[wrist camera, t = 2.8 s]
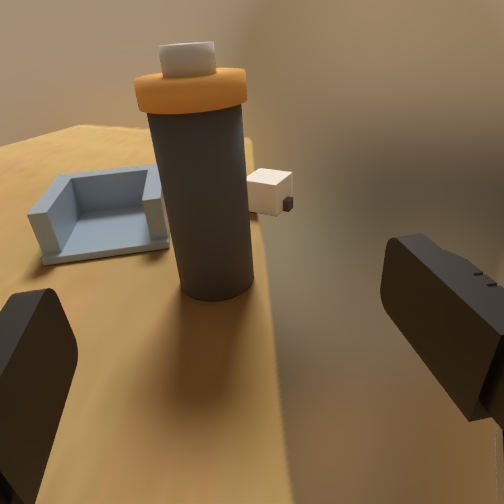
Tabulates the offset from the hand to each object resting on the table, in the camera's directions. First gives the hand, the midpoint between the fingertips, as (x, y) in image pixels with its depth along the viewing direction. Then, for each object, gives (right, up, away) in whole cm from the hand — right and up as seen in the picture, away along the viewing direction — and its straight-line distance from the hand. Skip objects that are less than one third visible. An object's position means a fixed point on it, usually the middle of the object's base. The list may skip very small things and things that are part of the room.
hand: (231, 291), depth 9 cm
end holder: (-10, +3, +20) cm, 22 cm away
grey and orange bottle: (-2, -1, +13) cm, 14 cm away
